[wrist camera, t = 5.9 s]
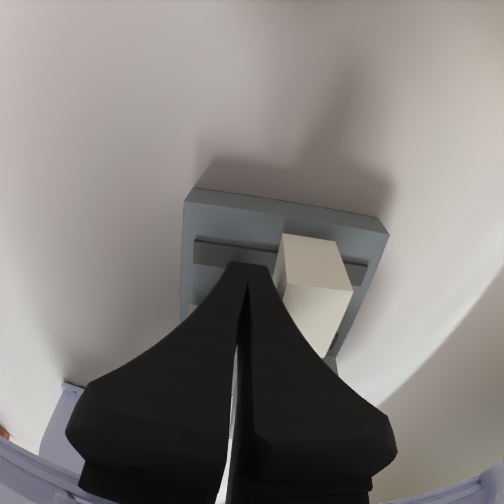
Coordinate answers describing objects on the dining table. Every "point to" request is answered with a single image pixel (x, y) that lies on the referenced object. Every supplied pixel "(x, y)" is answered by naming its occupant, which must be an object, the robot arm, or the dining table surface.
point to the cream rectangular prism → (312, 287)
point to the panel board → (271, 248)
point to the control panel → (4, 433)
